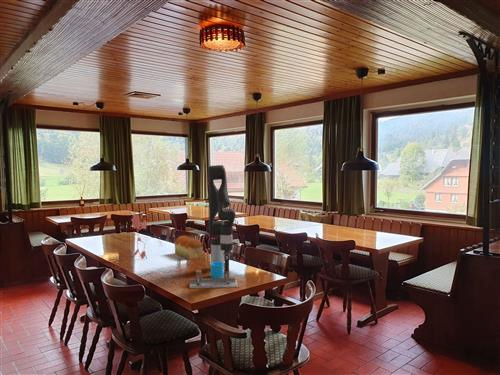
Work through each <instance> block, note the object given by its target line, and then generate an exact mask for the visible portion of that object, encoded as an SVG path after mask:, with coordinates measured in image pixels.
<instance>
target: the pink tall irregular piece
mask: <svg viewBox="0 0 500 375" xmlns="http://www.w3.org/2000/svg"><path fill="white" fill-rule="evenodd" d="M130 220H131V222H132V224H131V225H130V228H131V227H133V229H134V230H135V229H136V230H137V231H136V232H137V241H136V246H137V250H135V252H134V254H133V256H132V257H133V258H134V257H135V256H137V255H139V256H140V258H141V259H142V260H143V259H144V258H146V259H147V258H148V256H147V255H146V254H147V253H146V251H145V250H143V251H142V252H140V249H139V246H138V244H139V242H141V243H143V244H144V245H143V246H144V247H143V249H145V247H146V244H145V242H144V241H142V239H141V237H139V231H140V230H142V229H144V230H146V228H147V225H148V222H147V220H145V219H144V221H143V222H141V221H140V216H139V214H138V213H137V214H136V213H133V215H132V218H131V219H130ZM126 261H129V262H130V260H129V259H126Z"/></svg>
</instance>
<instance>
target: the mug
mask: <svg viewBox="0 0 500 375" xmlns="http://www.w3.org/2000/svg"><path fill="white" fill-rule="evenodd" d="M223 265H224V264H223V263H221V262H214V263H211V262H210V278H224V269H223Z"/></svg>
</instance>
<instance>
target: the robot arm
mask: <svg viewBox="0 0 500 375" xmlns="http://www.w3.org/2000/svg"><path fill="white" fill-rule="evenodd" d="M207 180H208V181H207V182H208V214H209V215H208V233H209V234H210V235H219V236H217V237H215V238H212V239H211V240H210V264H211V263H214V262H221V263H223V264H224V263H225V271H229V272H230V260H231V259H230V257H231V252H229V251H233V250H234V237H233V228H234V223H235V220H236V211H235V210H234V208H228V207H230V206H231V201H230V197H229V193H228V183H227V173H226V168H225V166H224V165H222V164H217V165H209V166H208V167H207ZM215 180H216V181H218V180H221V182H220V186H219V188H217V187H216V184H215V182H214V181H215ZM216 216H217V218H218V220H215V218H216ZM226 221H227V223H225V222H226ZM223 270H224V265H223Z"/></svg>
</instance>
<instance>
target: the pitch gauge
mask: <svg viewBox="0 0 500 375" xmlns="http://www.w3.org/2000/svg"><path fill="white" fill-rule="evenodd" d="M195 275H196V276H195V278H190V279H189V282H190V283H189V289H215V288H216V289H217V288H238V286H239V284H238V279H236V277H229V279H228V283H226V279H224V277H221V278H212V277H210V278H207V277H206V278H202V270H201V269H196V270H195Z"/></svg>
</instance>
